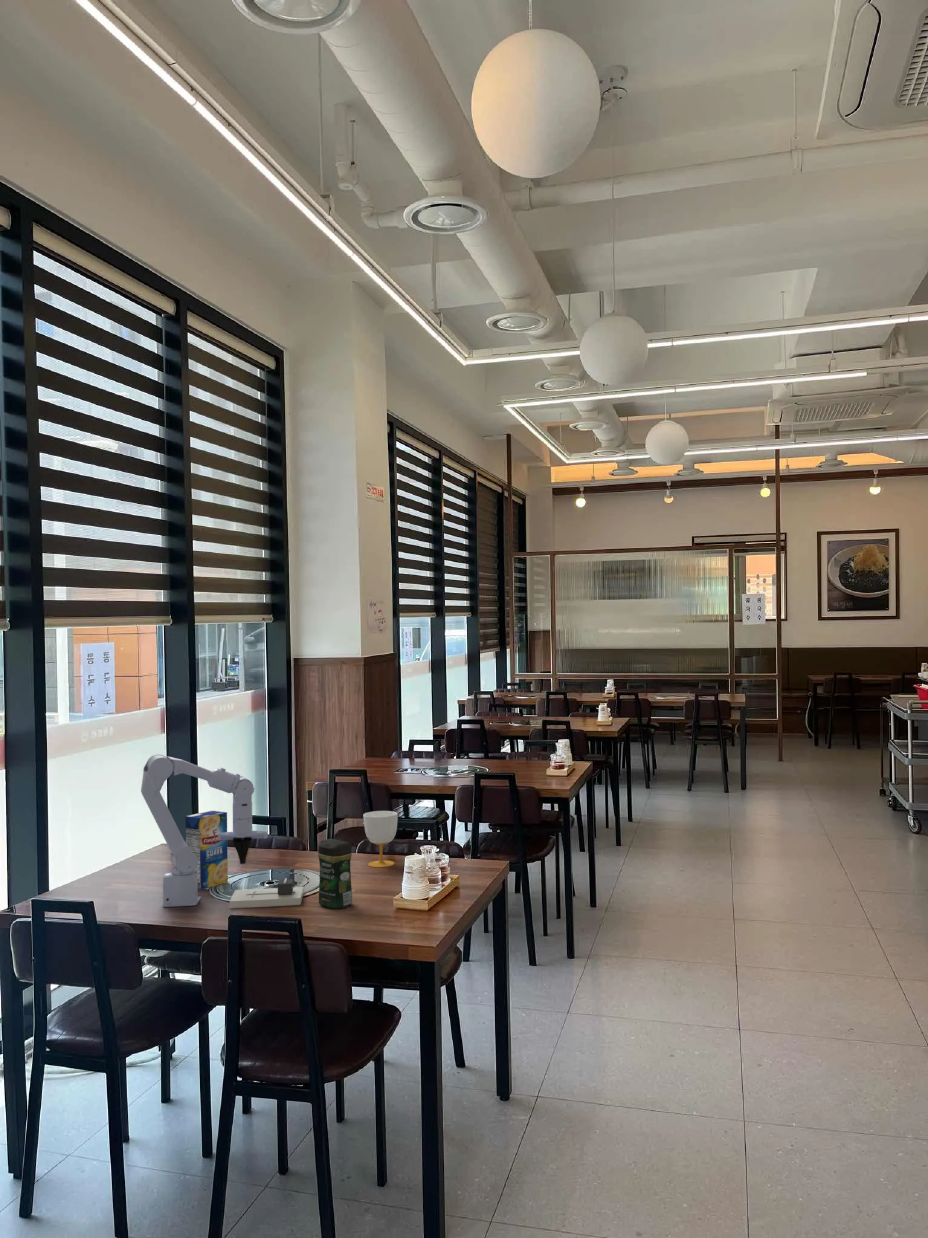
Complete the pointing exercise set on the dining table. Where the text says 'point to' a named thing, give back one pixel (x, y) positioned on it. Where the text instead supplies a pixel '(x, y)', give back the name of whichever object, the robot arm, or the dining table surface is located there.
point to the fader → (285, 886)
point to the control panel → (265, 898)
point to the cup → (380, 832)
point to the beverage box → (208, 847)
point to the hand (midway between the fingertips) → (242, 863)
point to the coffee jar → (335, 874)
